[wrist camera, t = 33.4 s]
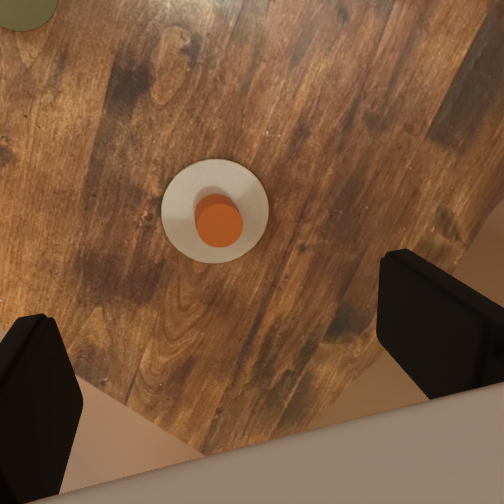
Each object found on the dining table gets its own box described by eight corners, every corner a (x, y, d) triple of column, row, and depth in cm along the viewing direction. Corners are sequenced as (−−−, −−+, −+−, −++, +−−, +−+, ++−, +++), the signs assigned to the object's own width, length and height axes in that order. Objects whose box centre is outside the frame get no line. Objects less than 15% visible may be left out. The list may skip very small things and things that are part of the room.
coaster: (172, 268, 36) (172, 271, 35) (151, 165, 32) (150, 167, 31) (270, 251, 37) (272, 254, 36) (262, 151, 33) (264, 152, 33)
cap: (236, 192, 33) (243, 201, 30) (237, 233, 35) (243, 247, 32) (193, 193, 33) (195, 203, 29) (195, 236, 34) (197, 250, 31)
